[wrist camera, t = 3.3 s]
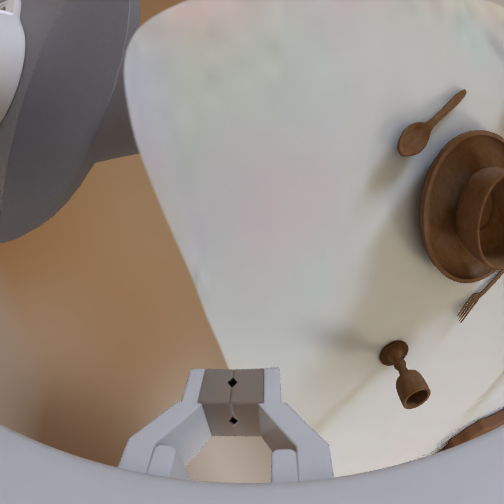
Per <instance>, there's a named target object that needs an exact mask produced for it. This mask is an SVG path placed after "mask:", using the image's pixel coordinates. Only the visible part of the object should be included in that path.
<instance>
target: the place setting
mask: <svg viewBox="0 0 504 504" xmlns="http://www.w3.org/2000/svg"><path fill="white" fill-rule="evenodd" d="M466 93H467V92H466V90H465V89H464V90H462V91H460V92H458V93H457V94H456V95H455V96H454V97H453V98H452V99H451V100H450V101H449V102H448V103H447V104H446V105H445V106H444V107H443V108H442V109H441V110H440V111H439V112H438V113H437V114H436V115H435V116H434V117H433V118H432V119H430V120H429V121H427V122H418V123H414V124H411V125H409V126H408V127H407V128H406V129H405V130H404V131H403V133H402V134H401V137H400V139H399V142H398V146H397V150H398V152H399V153H400V155H401V156H413V155H416V154H418V153H419V152H421V151H422V150H423V149H424V148H425V146H426V144H427V142H428V140H429V136H430V133H431V130H432V129H433V127H434V126H435V125H436V124H437V123H438V122H439V121H440V120H441V119H442V118H443V117H444V116H445V115H446V114H447V113H449V112H450V111H451V110H452V109H453V108H454V107H455V106H456V105H457V104H459V103H460V101H461V100H462V99H463V98H464V96H465V95H466ZM420 229H421V234H422V240H423V243H424V246H425V249H426V251H427V253H428V255H429V257H430V259H431V261H432V262H433V264H434V265H435V266H436V267H437V269H438V270H439V271H440V272H441V273H442V274H444V275H445V276H446V277H447V278H449V279H451V280H453V281H456V282H460V283H472V282H476V281H480V280H482V279H484V278H486V277H488V276H490V275H491V274H493V273H494V272H495V271H497V270H501V271H500V272H499V273H498V274H497V275H496V276H495V278H494V279H493V280H492V281H491V282H490V283H489V284H488V285H487V286H486V288H485V289H484V290H483V291H481V292H480V293H475V294H473V295H472V296H471V297H470V298H469V299H468V301H467V302H466V304H465V305H464V306H463V308H462V309H461V311H460V312H459V314H460V313H461V312H462V310H463V309H464V308H465V309H464V310H463V312H462V313H461V315H462V314H463V313H464V311H465V310H466V309H467V310H466V311H465V313H464V314H463V315H462V317H461V318H460V316H461V315H460V316H459V318H460V320H461V319H462V318H463V316H464V315H465V314H466V315H465V316H464V318H463V319H462V321H463V320H464V319H465V317H466V316H467V315H468V313H469V312H470V310H471V309H472V308H473V306H474V305H475V304H476V303H477V301H478V299H479V298H480V297H481V296H483V295H484V294H485V293H486V292H487V291H488V290H489V289H490V287H491V286H492V285H493V284H494V283H495V282H496V281H497V280H498V279H499V278H500V277H501V275H502V274H503V273H504V139H503V138H502V137H500V136H499V135H497V134H495V133H492V132H489V131H482V130H475V131H469V132H466V133H463V134H460V135H458V136H457V137H455V138H453V139H452V140H451V141H449V142H448V143H447V144H446V145H445V146H444V147H443V148H442V149H441V150H440V152H439V153H438V155H437V156H436V158H435V159H434V161H433V163H432V165H431V166H430V169H429V171H428V173H427V176H426V179H425V182H424V185H423V189H422V195H421V201H420ZM472 297H473V298H472ZM471 298H472V299H471ZM470 299H471V301H470ZM469 301H470V302H469ZM472 301H473V302H472ZM468 302H469V303H468ZM471 302H472V303H471ZM474 302H475V303H474ZM467 303H468V305H467ZM470 303H471V304H470ZM473 303H474V304H473ZM469 304H470V306H469ZM472 304H473V305H472ZM466 305H467V306H466ZM471 305H472V307H471ZM465 306H466V307H465ZM468 306H469V307H468ZM467 307H468V308H467ZM470 307H471V308H470ZM469 308H470V309H469ZM468 310H469V311H468ZM467 311H468V312H467ZM466 312H467V313H466ZM459 314H458V315H459ZM458 315H457V316H458ZM459 318H458V319H459ZM460 320H459V321H460ZM462 321H461V322H462ZM461 322H460V323H461ZM407 352H408V346H407V344H406V343H405V342H403V341H396V342H392V343H390V344H389V345H387V346H386V347H385V348H384V349H383V350H382V352H381V354H380V361H381V363H382V364H384V365H387V366H391V365H394V367H395V369H396V370H398V371H399V374H400V376H399V377H398V379H397V381H396V389H397V392H398V395H399V398H400V400H401V402H402V404H403V406H404V408H406V409H412V408H416V407H418V406H420V405H421V404H423V403H424V402H425V401H426V400H427V399H428V398H429V396H430V389H429V387H428V385H427V383H426V382H425V380H424V378H423V377H422V375H421V374H420V373H419V372H417V371H416V370H408V369H407V368H406V362H405V360H404V358H405V356H406V355H407Z"/></svg>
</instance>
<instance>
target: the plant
mask: <svg viewBox="0 0 504 504" xmlns="http://www.w3.org/2000/svg"><path fill="white" fill-rule="evenodd" d="M502 425H504V409H503V410H501V411H499V412H497V413H495V414H493V415H491V416H489V417H487V418H484V419H480V420H478V421H477V422H476V423H474V424H473V425H471V426H469V427H468V428H466V429H465V430H463V431H462V432H461V433H459V434H458V435H456V436H455V437H453V438H451V439H450V440H449V443H448V445H447V446H446V447H445V448H444V449H443V450H442V451H444V450H447V449H449V448H452V447H455V446H457V445H460V444H462V443H465V442H467V441H470V440H472V439H474V438H477V437H479V436H481V435H483V434H485V433H488V432H490V431H492V430H494V429H496V428H498V427H500V426H502ZM440 452H441V451H440Z"/></svg>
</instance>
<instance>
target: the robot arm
mask: <svg viewBox="0 0 504 504" xmlns="http://www.w3.org/2000/svg"><path fill="white" fill-rule="evenodd" d="M20 12H21V0H7V1H4V2H2V3H0V123H1V121H2V120H3V118H4V116H5V115H6V113H7V111H8V109H9V107H10V105H11V102H12V100H13V98H14V95H15V92H16V90H17V87H18V84H19V80H20V77H21V73H22V68H23V63H24V57H25V34H24V30H23V27H22V24H21V22H20ZM212 436H262V438H263V439H264V441H265V442H266V443H267V445H268V446H269V448H270V449H271V450H272V452H273V453H272V462H271V463H272V464H271V483H220V482H206V481H205V482H204V481H194V480H192V478H191V476H190V475H189V473H188V471H187V469H186V468H185V467H186V466H187V465H188V463H189V462H190V461H191V460H192V459H193V458H194V457H195V456H196V455H197V454H198V453H199V451H200V450H201V449H202V448H203V447H204V446H205V445H206V444H207V442H208V441H209V440H210V439H211V438H212ZM0 504H504V425H502V426H500V427H498V428H496V429H494V430H492V431H490V432H488V433H485V434H483V435H481V436H479V437H477V438H474V439H472V440H470V441H467V442H465V443H462V444H460V445H457V446H455V447H452V448H449V449H447V450H444V451H441V452H438V453H435V454H432V455H429V456H426V457H423V458H420V459H417V460H413V461H410V462H406V463H403V464H399V465H395V466H391V467H387V468H383V469H378V470H374V471H369V472H364V473H359V474H354V475H348V476H341V477H335V478H334V474H333V468H332V461H331V455H330V449H329V444H328V443H327V442H326V441H325V440H324V439H323V438H321V437H320V436H319V435H318V434H317V433H316V432H315V431H314V430H313V429H312V428H311V427H310V426H309V425H308V424H307V423H306V422H305V421H304V420H303V419H302V418H301V417H300V416H299V415H298V414H297V413H296V412H295V411H294V410H293V409H292V408H291V407H290V406H289V405H288V404H287V403H281V385H280V369H279V367H275V368H261V369H235V370H229V369H226V370H225V369H192V370H191V371H190V373H189V376H188V379H187V383H186V386H185V390H184V393H183V397H182V400H181V402H176V403H175V404H174V405H172V406H171V407H170V408H169V409H167V410H166V411H165V412H163V413H162V414H161V415H160V416H158V417H157V418H156V419H154V420H153V421H152V422H150V423H149V424H148V425H146V426H145V427H144V428H142V429H141V430H140V431H138V432H137V433H136V434H135V435H133V436H132V437H130V438H129V439H128V442H127V444H126V447H125V450H124V452H123V455H122V458H121V460H120V463H119V465H118V468H117V467H113V466H109V465H105V464H101V463H98V462H94V461H91V460H88V459H84V458H81V457H78V456H75V455H72V454H69V453H66V452H63V451H60V450H57V449H55V448H52V447H49V446H47V445H45V444H42V443H40V442H37V441H35V440H32V439H30V438H28V437H26V436H23V435H21V434H19V433H17V432H15V431H13V430H11V429H9V428H7V427H4V426H3V425H1V424H0Z"/></svg>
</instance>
